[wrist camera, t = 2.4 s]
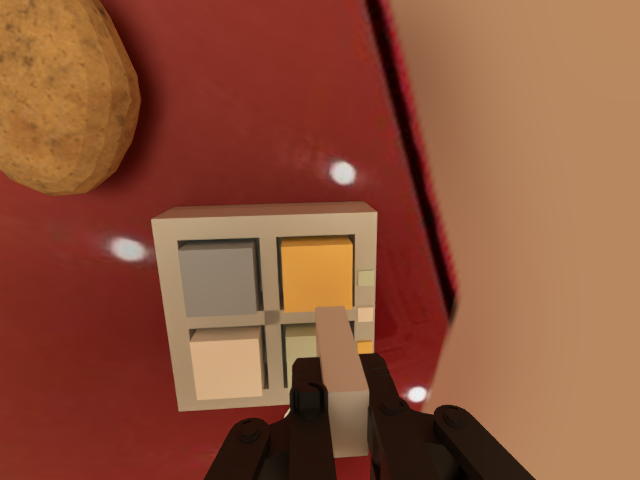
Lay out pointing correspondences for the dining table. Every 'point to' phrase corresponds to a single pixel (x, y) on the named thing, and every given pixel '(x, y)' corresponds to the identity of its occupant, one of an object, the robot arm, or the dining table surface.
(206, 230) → the keypad
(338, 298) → the key amber
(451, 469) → the robot arm
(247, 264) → the key slate
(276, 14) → the dining table surface
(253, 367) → the key ivory
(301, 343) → the key sage
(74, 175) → the potato
